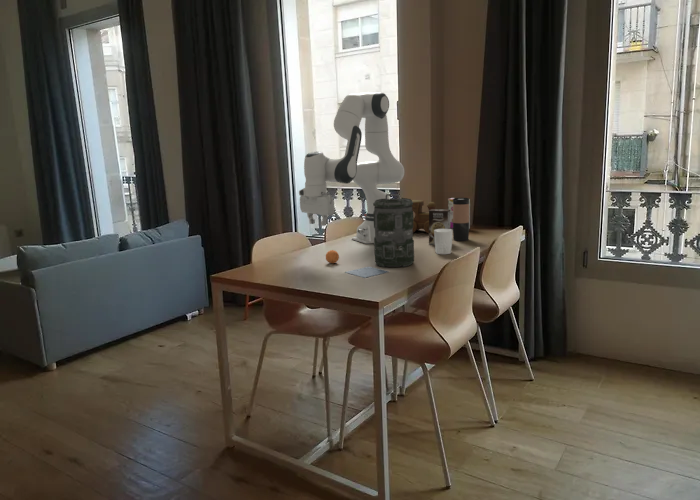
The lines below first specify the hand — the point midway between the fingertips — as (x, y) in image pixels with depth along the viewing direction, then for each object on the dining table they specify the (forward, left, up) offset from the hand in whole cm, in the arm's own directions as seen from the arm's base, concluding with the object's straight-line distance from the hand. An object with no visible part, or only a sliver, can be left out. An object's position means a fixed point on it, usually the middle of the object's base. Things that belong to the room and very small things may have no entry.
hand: (317, 224), depth 224 cm
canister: (+29, +17, -15) cm, 37 cm away
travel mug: (+15, +73, -15) cm, 76 cm away
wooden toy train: (-15, +77, -15) cm, 80 cm away
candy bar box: (-6, +96, -15) cm, 97 cm away
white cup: (+29, +45, -15) cm, 56 cm away
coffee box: (+14, +59, -15) cm, 63 cm away
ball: (+9, 0, -12) cm, 16 cm away
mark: (+31, 0, -15) cm, 35 cm away
